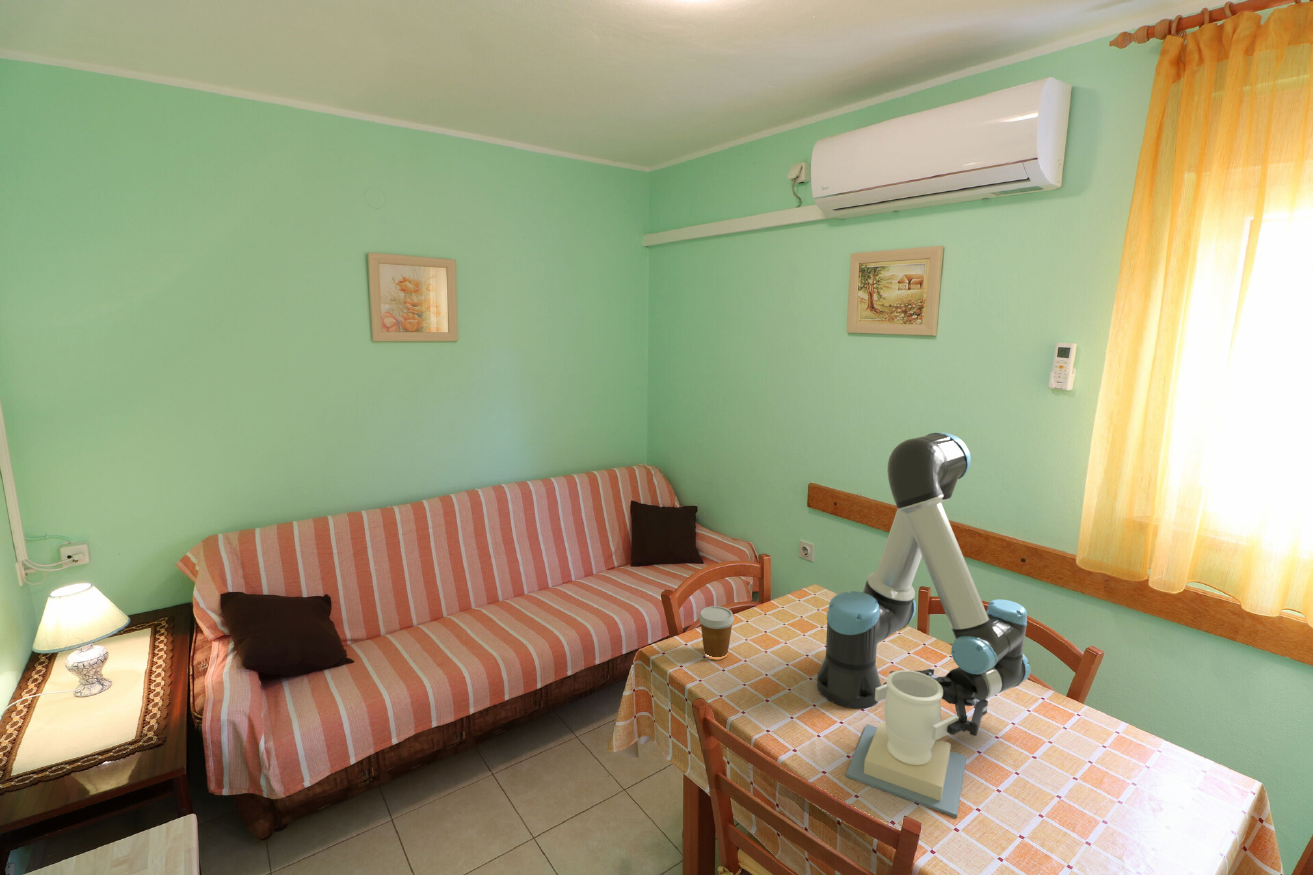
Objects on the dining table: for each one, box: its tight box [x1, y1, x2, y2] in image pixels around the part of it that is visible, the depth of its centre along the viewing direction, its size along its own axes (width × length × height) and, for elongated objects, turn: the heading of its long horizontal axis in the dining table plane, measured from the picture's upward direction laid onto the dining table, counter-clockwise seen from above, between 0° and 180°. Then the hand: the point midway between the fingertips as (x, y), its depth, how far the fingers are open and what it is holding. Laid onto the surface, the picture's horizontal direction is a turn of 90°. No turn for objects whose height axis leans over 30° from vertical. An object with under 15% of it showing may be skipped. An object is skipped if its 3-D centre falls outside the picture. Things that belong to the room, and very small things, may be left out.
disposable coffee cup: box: [698, 605, 735, 657], centre depth 166 cm, size 10×10×12 cm
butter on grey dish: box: [845, 720, 967, 818], centre depth 124 cm, size 20×18×4 cm
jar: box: [883, 669, 943, 765], centre depth 123 cm, size 11×10×15 cm
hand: (903, 712), depth 121 cm, fingers open, 13 cm apart
